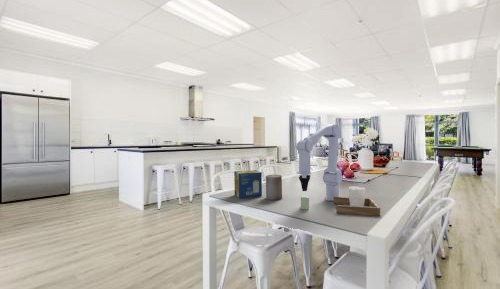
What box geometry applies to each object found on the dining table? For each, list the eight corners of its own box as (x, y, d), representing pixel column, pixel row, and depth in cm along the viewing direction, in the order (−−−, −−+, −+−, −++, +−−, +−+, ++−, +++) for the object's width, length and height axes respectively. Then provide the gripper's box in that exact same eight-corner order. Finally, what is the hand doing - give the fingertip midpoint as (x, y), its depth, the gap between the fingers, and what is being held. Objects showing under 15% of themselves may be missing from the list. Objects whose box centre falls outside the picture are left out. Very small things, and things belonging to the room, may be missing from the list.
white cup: (362, 205, 133) (362, 186, 133) (367, 209, 125) (367, 189, 125) (347, 204, 134) (346, 186, 134) (351, 209, 126) (351, 189, 126)
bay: (333, 203, 138) (333, 196, 138) (370, 204, 133) (370, 198, 133) (336, 213, 120) (336, 205, 120) (380, 215, 115) (380, 208, 115)
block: (301, 206, 131) (301, 195, 131) (309, 207, 130) (308, 195, 130) (300, 209, 127) (300, 197, 127) (308, 209, 126) (308, 197, 126)
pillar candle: (281, 196, 155) (281, 172, 155) (282, 200, 146) (281, 174, 145) (266, 196, 156) (265, 172, 156) (265, 200, 146) (265, 174, 146)
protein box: (234, 195, 161) (233, 171, 160) (256, 193, 165) (256, 170, 165) (238, 198, 151) (238, 173, 150) (262, 196, 155) (262, 171, 155)
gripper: (297, 162, 136) (297, 186, 137) (295, 164, 122) (295, 192, 122) (310, 162, 134) (311, 187, 135) (310, 165, 120) (310, 193, 121)
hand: (304, 189), depth 129 cm, fingers open, 5 cm apart
